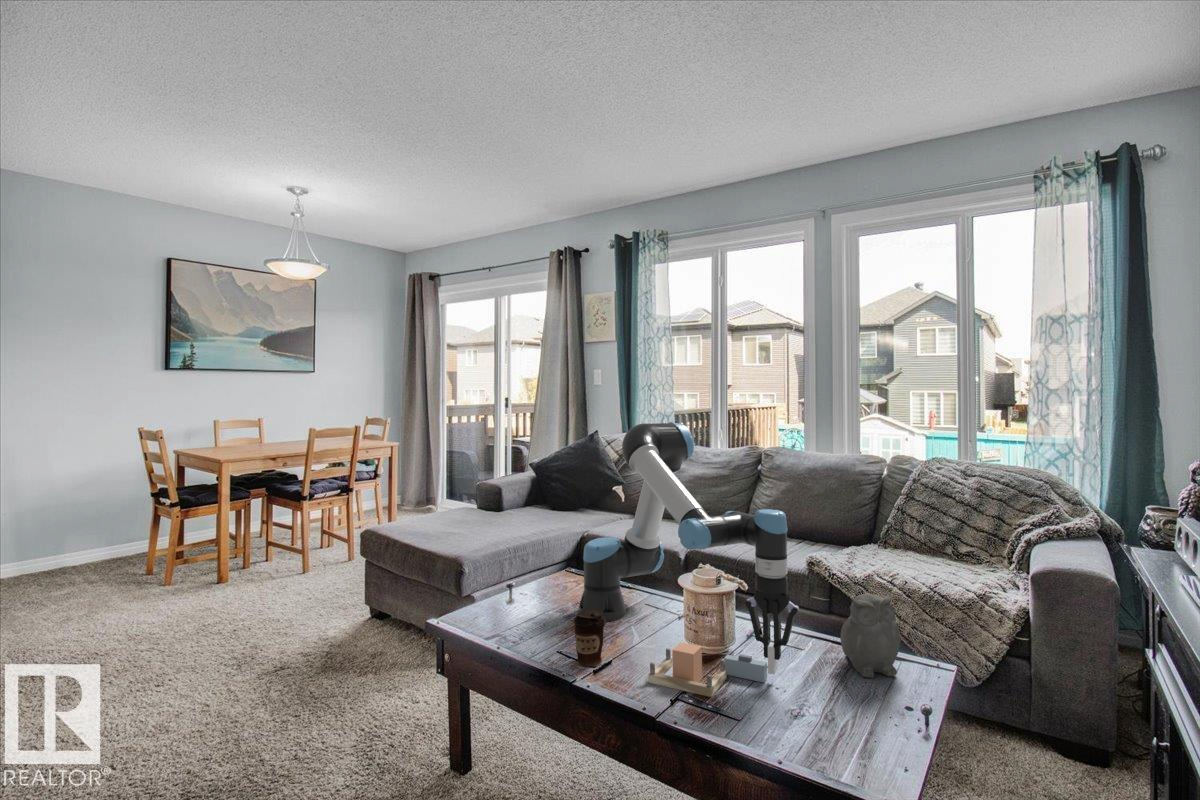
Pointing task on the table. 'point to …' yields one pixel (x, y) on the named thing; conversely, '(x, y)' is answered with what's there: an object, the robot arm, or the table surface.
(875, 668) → the figurine
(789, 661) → the table surface
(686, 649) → the block
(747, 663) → the bar
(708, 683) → the cradle
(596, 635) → the coffee cup
